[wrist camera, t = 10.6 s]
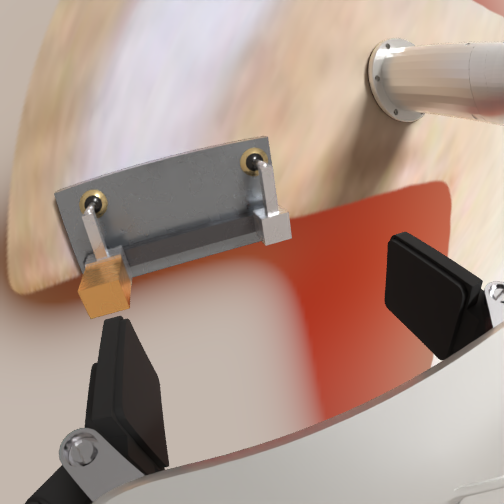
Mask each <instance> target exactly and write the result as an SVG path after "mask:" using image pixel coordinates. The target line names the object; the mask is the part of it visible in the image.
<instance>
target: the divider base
mask: <svg viewBox="0 0 504 504" xmlns="http://www.w3.org/2000/svg"><path fill="white" fill-rule="evenodd" d="M54 195H55V198H56V201H57V204H58V208H59V211H60V214H61V217H62V220H63V223H64V226H65V228H66V231H67V234H68V237H69V240H70V242H71V245H72V248H73V250H74V253H75V255H76V258H77V261H78V263H79V266H80V268H81V271H82V273H83V274H84V271H85V262H86V259H87V257H88V255H91V254H94V251H93V248H92V246H91V243H90V240H89V237H88V234H87V231H86V228H85V225H84V222H83V219H82V215H83V214H84V212H85V210H86V209H87V207H88V205H89V204H90V203H91V202H94V203H95V204H96V208H95V210H94V211H95V214H96V217H97V220H98V223H99V226H100V229H101V232H102V235H103V238H104V241H105V244H106V247H107V249H110V248H114V247H117V246H120V245H122V247H123V250H124V253H125V256H126V258H127V261H128V264H129V267H130V270H131V272H132V277H136V276H139V275H143V274H146V273H150V272H153V271H157V270H160V269H164V268H167V267H170V266H174V265H177V264H181V263H184V262H188V261H192V260H195V259H199V258H202V257H206V256H209V255H213V254H216V253H220V252H223V251H227V250H231V249H234V248H238V247H241V246H245V245H248V244H252V243H256V242H259V241H262V242H263V243H264V244H265V245H270V244H273V243H277V242H280V241H283V240H287V239H291V238H292V237H291V228H290V219H289V212H288V211H286V210H285V209H283V208H282V207H281V206H279V205H278V203H277V195H276V188H275V181H274V173H273V166H272V162H271V155H270V148H269V141H268V137H266V136H260V137H255V138H250V139H244V140H239V141H234V142H229V143H224V144H220V145H215V146H210V147H206V148H201V149H197V150H193V151H189V152H184V153H180V154H176V155H172V156H168V157H164V158H161V159H157V160H153V161H149V162H146V163H142V164H139V165H135V166H132V167H128V168H125V169H121V170H118V171H115V172H112V173H108V174H105V175H102V176H99V177H96V178H93V179H90V180H87V181H84V182H81V183H78V184H75V185H72V186H69V187H66V188H63V189H61V190H58V191H57V192H55V193H54Z"/></svg>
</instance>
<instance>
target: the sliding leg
mask: <svg viewBox="0 0 504 504" xmlns="http://www.w3.org/2000/svg"><path fill="white" fill-rule="evenodd" d="M95 208H96V204H95V203H94V202H91V203H90V204H89V205H88V207H87V209H86V210H85V212H84V214H83V215H82V219H83V222H84V225H85V228H86V231H87V234H88V237H89V240H90V243H91V246H92V248H93V251H94V254H91V255H88V257H87V259H86V262H85V271H84V274H83V277H82V280H81V283H80V286H79V289H78V293H79V295H80V298H81V300H82V302H83V304H84V306H85V308H86V310H87V313H88V315H89V316H90V318H91V319H93V318H96V317H100V316H104V315H107V314H110V313H114V312H118V311H122V310H125V309H129V308H130V291H131V285H132V272H131V270H130V267H129V264H128V261H127V258H126V256H125V253H124V250H123V247H122V245H120V246H117V247H114V248H110V249H107V247H106V244H105V241H104V238H103V235H102V232H101V229H100V226H99V223H98V220H97V217H96V214H95V211H94V210H95Z"/></svg>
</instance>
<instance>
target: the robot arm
mask: <svg viewBox="0 0 504 504" xmlns="http://www.w3.org/2000/svg"><path fill="white" fill-rule="evenodd" d="M368 74H369V82H370V87H371V90H372V93H373V95H374V98H375V100H376V101H377V103H378V105H379V106H380V107H381V109H382V110H383V111H384V112H385V113H386V114H387V115H388V116H390V117H392V118H393V119H395V120H398V121H404V122H413V121H416V120H418V119H420V118H421V117H423V116H424V114H425V113H427V114H436V115H443V116H450V117H457V118H463V119H469V120H475V121H481V122H486V123H491V124H496V125H502V126H504V42H461V43H443V44H430V45H420V46H415V45H414V44H413V43H411V42H409V41H407V40H405V39H401V38H391V39H387V40H384V41H382V42H381V43H379V44H378V45H377V46H376V48H375V49H374V50H373V52H372V55H371V57H370V61H369V69H368ZM482 282H483V281H482V280H481V279H480V278H478V277H477V276H475V275H474V274H472V273H471V272H469V271H468V270H466V269H465V268H463V267H462V266H460V265H459V264H457V263H456V262H454V261H453V260H451V259H449V258H448V257H446V256H445V255H443V254H442V253H440V252H439V251H437V250H435V249H434V248H432V247H431V246H429V245H427V244H426V243H424V242H422V241H421V240H419V239H417V238H416V237H414V236H413V235H411V234H409V233H407V232H402V233H399V234H396V235H393V236H392V237H391V239H390V241H389V242H388V253H387V272H386V287H385V304H386V307H387V308H388V309H389V310H390V311H391V312H392V313H393V314H394V315H395V316H396V317H397V318H398V319H399V320H400V321H401V322H402V323H403V324H404V325H405V326H406V327H407V328H408V329H409V330H410V331H411V332H413V333H414V334H415V335H416V336H417V337H418V338H419V339H420V340H421V341H422V342H423V343H424V344H425V345H426V346H427V347H428V348H429V349H430V350H431V351H432V352H433V353H434V355H435V356H436V357H437V358H438V359H440V360H443V361H442V362H440V363H438V364H437V365H435V366H433V367H432V368H430V369H428V370H427V371H425V372H423V373H421V374H420V375H418V376H416V377H414V378H413V379H411V380H409V381H407V382H405V383H403V384H402V385H400V386H398V387H396V388H394V389H392V390H390V391H388V392H386V393H384V394H382V395H380V396H378V397H376V398H374V399H372V400H370V401H368V402H366V403H364V404H362V405H360V406H357V407H355V408H353V409H351V410H349V411H346V412H344V413H342V414H339V415H337V416H335V417H332V418H330V419H328V420H325V421H323V422H321V423H318V424H315V425H313V426H310V427H308V428H305V429H303V430H300V431H298V432H295V433H292V434H289V435H286V436H283V437H281V438H278V439H275V440H272V441H269V442H266V443H263V444H260V445H257V446H253V447H250V448H247V449H243V450H240V451H237V452H233V453H230V454H226V455H223V456H219V457H215V458H211V459H208V460H204V461H200V462H195V463H191V464H187V465H183V466H180V467H176V468H171V469H167V470H165V469H164V467H168V466H169V460H168V454H167V445H166V438H165V430H164V421H163V412H162V403H161V392H160V383H159V379H158V376H157V374H156V372H155V370H154V368H153V366H152V364H151V362H150V361H149V359H148V357H147V355H146V353H145V351H144V349H143V347H142V345H141V343H140V341H139V339H138V337H137V335H136V333H135V331H134V329H133V327H132V324H131V322H130V320H129V319H123V317H122V316H118V317H114V318H110V319H106V320H105V321H104V325H103V331H102V337H101V343H100V349H99V357H98V363H94V364H93V366H92V369H91V376H90V384H89V392H88V400H87V409H86V419H85V428H80V429H77V430H74V431H72V432H71V433H69V434H68V435H67V436H66V437H65V438H64V440H63V441H62V443H61V445H60V449H59V458H60V461H61V463H62V466H61V467H60V468H59V469H58V470H57V471H56V472H55V473H54V474H53V475H52V476H51V477H50V478H49V479H48V480H47V481H46V482H45V483H44V484H43V485H42V486H41V487H40V488H39V489H38V490H37V491H36V492H35V493H34V494H33V495H32V496H31V497H30V498H29V499H28V500H27V501H26V503H25V504H504V282H499V281H497V282H491V283H489V284H487V285H486V287H485V289H484V291H483V290H482V289H481V286H482Z"/></svg>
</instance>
